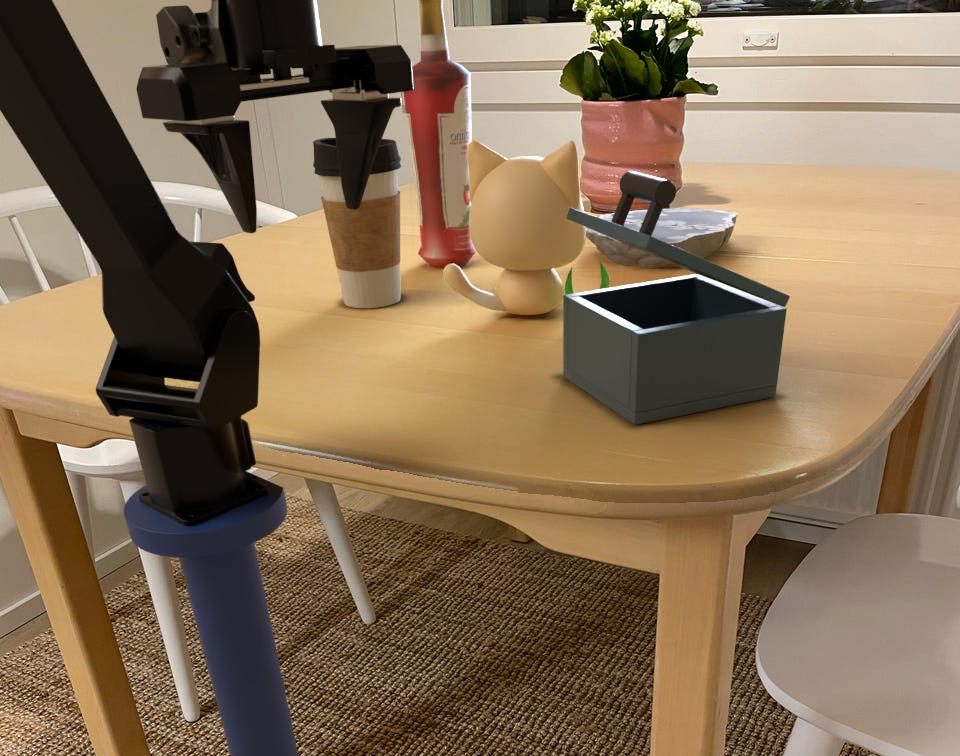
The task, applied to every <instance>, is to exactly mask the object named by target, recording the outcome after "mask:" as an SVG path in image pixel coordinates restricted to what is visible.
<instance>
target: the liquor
mask: <svg viewBox="0 0 960 756" xmlns="http://www.w3.org/2000/svg"><path fill="white" fill-rule="evenodd" d="M418 1H419V6H420V61H418V62H416V64H414V65H412V75H413V87H414V90H412V91H405V92H402V93H403V101H404V111H405V119H406V129H407V136H408V143H409V150H410V157H411V164H412V171H413V172H412V173H413V180H414V181H413V182H414V190H415V196H416V205H417V215H418V227H419V235H420V236H419V237H420V244H421V245H420V247H419V250H418V252H417V254H418V255H419V257H420V258H421V259H422V260H424V262H425V263H426V264H428V265H429V267H432V268H437V269H438V268H439V269H444V268H445V267H446V266H447V265H448V264H456V265H457V266H459V267H463V266H465V265H466V264H467V263H468V262H470V260H471V259H472V258H473V256H474V255H476V253H477V251H476V250H475V248H474V246H473V243H472V240H471V237H470V230H469V216H470V209H471V200H470V195H469V167H468V159H467V149H468V145H469V144H470V142H471V141H472V77H471V76H472V75H471V72H470V71H468V69H466V68H465V66H464V65H462V64H460V63H458V62H456V61H454V60H451V59H450V53H449V46H448V39H447V30H446V24H445V18H444V17H445V16H444V9H443V3H444V2H443V1H444V0H418Z"/></svg>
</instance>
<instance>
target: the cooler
mask: <svg viewBox="0 0 960 756" xmlns="http://www.w3.org/2000/svg"><path fill="white" fill-rule="evenodd" d="M562 304H563V305H562V311H563V312H562V315H563V316H562V317H563V318H562V321H563V322H562V326H563V327H562V328H563V329H562V333H563V334H562V338H563V341H562V343H563V344H562V349H563V350H562V351H563V352H562V354H563V355H562V356H563V357H562V359H563V361H562V363H563V364H562V365H563V374H562V375H563V378H565V379H567V380H568V381H569V382H571V384H574V385H575V386H577V387H578V388H580V389H581V390H583V391H584V392H585V393H587V394H588V395H590V396H592V398H594V399H596V400H597V401H599V402H600V403H602V404H603V405H605V406H606V407H607V408H609V409H610V410H612V411H613V412H615V413H616V414H617V415H619V416H620V417H622V418H624V420H626V421H628V422H629V423H631V424H632V425H634V426H637V425H642V424H646V423H652V422H657V421H661V420H666V419H672V418H677V417H681V416H688V415H690V414H696V413H701V412H707V411H711V410H717V409H720V408H721V409H722V408H726V407H731V406H736V405H740V404H741V405H742V404H745V403H751V402H755V401H761V400H765V399H769V398H775V397H776V395H777V387H778V386H777V385H778V380H779V373H780V365H781V356H782V349H783V341H784V333H785V326H786V318H787V308H785V307H782V306H780V305H777V304H775V303H772V302H769V301H767V300H764V299H762V298H759V297H756V296H754V295H751V294H749V293H746V292H743V291H741V290H738V289H736V288H733V287H730V286H728V285H725V284H723V283H720V282H718V281H715V280H712V279H710V278H707V277H705V276H702V275H699V274H697V273H694V274H689V275H682V276H676V277H675V276H674V277H669V278H663V279H657V280H650V281H644V282H638V283H637V282H636V283H631V284H623V285H618V286H612V287H609V288H605V289H600V288H599V289H593V290H587V291H580V292H575V293H574V292H573V294H567V295H565V294H564V295H563V299H562Z"/></svg>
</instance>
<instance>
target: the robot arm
mask: <svg viewBox="0 0 960 756" xmlns="http://www.w3.org/2000/svg"><path fill="white" fill-rule="evenodd" d="M210 3H211V4H210V9H209V10H207V11H204V12H202V11H201V12H193V10H192V9H191V7H190V6H188V5H186V4H185V5H168V6H166V5H165V6H162V8H161V9H160V10H159V11H158V12H157V13H156V15H155V17H156V25H157V30H158V36H159V43H160V48H161V50H162V52H163V55H164V58H165V61H166V63H167V64H161V65H150V66H142V68H141V71H140V74H139V77H138V80H137V84H136V88H135V89H136V94H137V99H138V103H139V104H138V105H139V109H140V112H141V113H140V114H141V117H142V119H146V120H147V119H148V120H162V121H163V120H164V121H163V122H162V125H163V127H164V129H165V130H166V132H167V133H178V134H180V135H182V136H183V138H185V139H186V141H188V142H189V143H190V144H191V145H192V146H193V147H194V148H195V150H197V152H198V153H199V155H200V156H201V158H202V160H203V161H204V162H205V164H206V165H207V167H208V168H209V170H210V172H211V173H212V175H213V177H214V179H215V181H216V182H217V184H218V187H219V188H220V190H221V192H222V194H223V196H224V197H225V200H226V201H227V203H228V205H229V207H230V209H231V211H232V213H233V214H234V217H235V218H236V220H237V223H238V224H239V226H240V228H241V230H242V231H243V232H244V233H246V234H254V233H256V232H257V219H258V210H257V198H256V197H257V196H256V186H255V185H256V184H255V183H256V182H255V174H254V172H255V171H254V162H253V161H254V159H253V150H252V149H253V148H252V138H251V126H250V125H251V124H250V120H245V119H244V120H243V119H235V115H236V113H237V111H238V109H239V107H240V105H241V103H242V102H249V101H257V100H264V99H265V100H266V99H272V98H273V99H275V98H281V97H288V96H289V97H290V96H296V95H302V94H303V95H304V94H311V93H319V92H326V91H328V92H329V93H331V96H332V98H328V99H322V100H320V104H321V106H322V107H323V110H324V111H325V113H326V115H327V116H328V118H329V120H330V122H331V125H332V126H333V129H334V136H335V137H334V138H336V145H337V153H338V161H339V169H340V176H341V184H342V190H343V194H344V199H345V203H346V207H347V208H348V209H351V210H357V209H359V207H360V204H361V201H362V198H363V195H364V191H365V188H366V185H367V182H368V178H369V175H370V172H371V169H372V165H373V162H374V159H375V156H376V153H377V150H378V147H379V144H380V142H381V139H383V137H384V134H385V132H386V130H387V127H388V125H389V122H390V120H391V117H392V114H393V112H394V109H395V108H400V107H402V103H403V101H402V97H390V96H389V94H390V95H391V94H397V93H403V92H405V91H412V90H414V87H413V75H412V67H413V65H412V59H411V58H410V56H409V55H408V53H407V52H406V50H405V49H404V47H403V46H402V45H401V44H387V45H386V44H383V45H378V44H377V45H354V46H343V47H336V46H335V44H323V41H322V31H321V25H320V16H319V8H318V1H317V0H211V2H210ZM291 69H302V73H296V74H292V70H291ZM271 74H272V77H263V78H261V75H264V76H265V75H271ZM0 112H1V114H2V116H3V117H4V119H5V121H6V122H7V124H8V125H9V127H10V128H11V130H12V131H13V133H14V134H15V136H16V137H17V139H18V140H19V143H20V144H21V145H22V147H23V149H24V150H25V152H26V153H27V155H28V156H29V158H30V159H31V161H32V163H33V164H34V166H35V167H36V169H37V170H38V172H39V173H40V175H41V176H42V179H43V180H44V181H45V183H46V184H47V186H48V188H49V189H50V191H51V193H52V194H53V195H54V197H55V198H56V201H57V202H58V203H59V205H60V206H61V208H62V210H63V211H64V212H65V214H66V216H67V217H68V219H69V221H70V222H71V224H72V225H73V227H74V228H75V230H76V232H77V233H78V234H79V236H80V238H81V239H82V240H83V242H84V244H85V245H86V247H87V249H88V250H89V252H90V253H91V255H92V256H93V258H94V259H95V261H96V263H97V265H98V266H99V269H100V271H101V296H102V297H101V301H102V302H101V304H102V305H101V306H102V313H103V315H104V318H105V319H106V321H107V324H108V326H109V328H110V330H111V332H112V334H113V338H112V342H111V344H110V347H109V350H108V352H107V355H106V357H105V361H104V364H103V367H102V369H101V372H100V375H99V378H98V381H97V384H96V386H95V394H96V396H97V397H98V399H99V400H100V402H101V404H102V405H103V407H104V408H105V410H106V411H107V413H108V414H109V416H111V417H118V418H119V417H127V418H130V419H129V420H128V421H129V425H130V429H131V432H132V436H133V441H134V445H135V448H136V452H137V455H138V459H139V463H140V466H141V470H142V474H143V477H144V481H145V485H147V489H148V491H145V492H142V493H140V494H139V500H140V502H141V503H143V504H145V505H147V506H148V507H150V508H152V509H154V510H156V511H158V512H160V513H161V514H163V515H165V516H167V517H169V518H171V519H173V520H174V521H176V522H178V523H180V524H182V525H184V526H186V527H190V526H195V525H197V524H200V523H202V522H204V521H207V520H209V519H211V518H214V517H216V516H219V515H221V514H223V513H226V512H228V511H230V510H233V509H235V508H238V507H240V506H242V505H245V504H247V503H249V502H252V501H254V500H257V499H259V498H261V497H264V496H266V495H268V494H269V491H268V487H267V486H266V485H264V484H262V483H259V482H257V481H255V480H254V479H256V478H257V477H259V476H258V475H256V474H254V473H251V472H249V470H251V469H252V467H253V466H256V465H257V460H256V455H255V451H254V445H253V441H252V436H251V430H250V425H249V422H248V420H245V419H244V418H242V416H244V415H246V414H247V413H249V412H251V411H252V410H254V409H256V408H258V406H259V388H260V387H259V386H260V384H259V383H260V382H259V381H260V360H261V359H260V357H261V334H260V332H261V331H260V326H259V321H258V318H257V316H256V314H255V311H254V308H253V307H252V305H251V303H252V302H254V301H256V296H255V294H253V293H252V291H251V290H250V289H248V287H247V285H246V284H245V283H244V281H243V280H242V278H241V276H240V275H241V274H240V273H239V271H238V267H237V265H236V261H235V259H234V256H233V255H232V254H231V251H229V250H228V248H227V247H226V246H225V244H224V243H221V242H208V241H207V242H206V241H204V242H203V241H189V240H188V239H187V238H185V236H183V234H182V233H181V232H180V231H179V229H178V228H177V227H176V225H175V223H174V221H173V219H172V218H171V216H170V214H169V212H168V210H167V209H166V206H165V205H164V203H163V201H162V199H161V197H160V195H159V194H158V192H157V190H156V188H155V187H154V184H153V182H152V180H151V179H150V177H149V175H148V174H147V172H146V170H145V168H144V166H143V164H142V163H141V160H140V158H139V157H138V154H137V153H136V151H135V150H134V148H133V146H132V144H131V142H130V140H129V138H128V136H127V135H126V133H125V131H124V129H123V128H122V126H121V123H120V122H119V120H118V118H117V116H116V115H115V113H114V111H113V109H112V107H111V105H110V103H109V102H108V100H107V98H106V96H105V94H104V92H103V91H102V89H101V87H100V85H99V83H98V81H97V80H96V78H95V76H94V74H93V72H92V70H91V68H90V67H89V65H88V63H87V61H86V59H85V57H84V55H83V54H82V52H81V49H80V48H79V47H78V45H77V43H76V40H75V39H74V37H73V35H72V34H71V31H70V30H69V28H68V26H67V24H66V23H65V21H64V18H63V17H62V15H61V14H60V11H59V9H58V7H57V6H56V4H55V3H54V1H53V0H0ZM166 379H169V380H170V379H171V380H177V381H186V382H192V383H193V382H194V383H199V384H198V386H197V388H192V387H185V386H178V385H169V384H165V382H166Z"/></svg>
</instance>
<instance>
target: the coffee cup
mask: <svg viewBox="0 0 960 756" xmlns="http://www.w3.org/2000/svg"><path fill="white" fill-rule="evenodd" d="M312 144H313V145H312V147H313V164H312V166H313V168H314V172H313V173H314V174H315V175H317V176H318V179H319V183H320V188H321V194H322V196H321V203H322V208H323V213H324V217H325V220H326V227H327V231H328V235H329V239H330V243H331V249H332V253H333V257H334V258H333V259H334V262H335V267H336V268H337V274H338V278H339V284H340V289H341V295H342V300H343V303H344V305H346V306H347V307H350V308H355V309H376V308H384V307H388V306H392V305H394V304H397V303H399V302H400V300H401V299H402V286H401V191H400V190H399V180H398V174H399V173H398V170H399V169H401V168H402V165H401V161H402V158H401V155H400V154H399V150H398V149H399V148H398V145H397V141H396V140H394V139H391V138H389V139H388V138H382V139H381V142H380V144H379V147H378V150H377V153H376V156H375V159H374V162H373V165H372V169H371V172H370V175H369V178H368V182H367V185H366V188H365V191H364V195H363V198H362V201H361V204H360V207H359V209H357V210H351V209H348V208H347V207H346V203H345V199H344V194H343V190H342V184H341V176H340V169H339V161H338V153H337V145H336V137H324V138H318V139H315V140H313V141H312Z"/></svg>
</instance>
